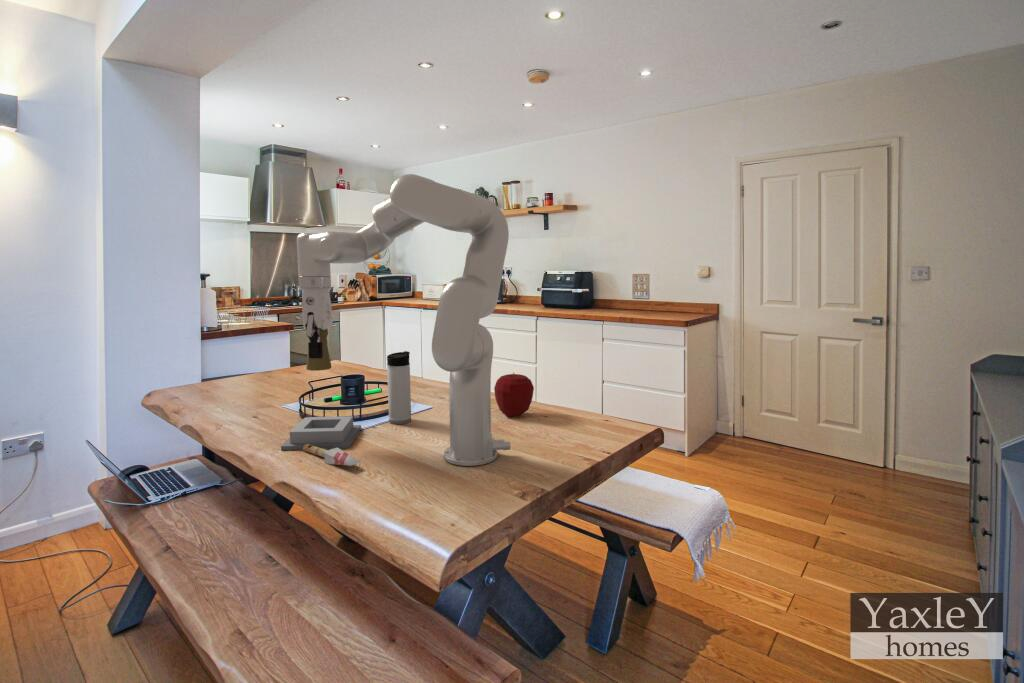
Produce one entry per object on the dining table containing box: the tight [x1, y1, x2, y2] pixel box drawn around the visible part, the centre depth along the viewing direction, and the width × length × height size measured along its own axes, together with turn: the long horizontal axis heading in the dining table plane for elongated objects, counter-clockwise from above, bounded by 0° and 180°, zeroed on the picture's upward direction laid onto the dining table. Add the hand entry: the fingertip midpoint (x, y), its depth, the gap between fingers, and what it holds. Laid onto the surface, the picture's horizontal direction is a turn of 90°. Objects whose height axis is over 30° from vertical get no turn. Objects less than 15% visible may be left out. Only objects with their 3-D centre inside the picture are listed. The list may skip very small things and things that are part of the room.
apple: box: [493, 372, 535, 419], centre depth 158 cm, size 12×12×13 cm
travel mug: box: [386, 350, 412, 425], centre depth 152 cm, size 6×7×20 cm
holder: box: [280, 416, 362, 451], centre depth 138 cm, size 16×16×4 cm
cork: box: [305, 327, 332, 372], centre depth 135 cm, size 6×6×11 cm
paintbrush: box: [303, 444, 361, 467], centre depth 124 cm, size 4×3×20 cm
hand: (318, 355), depth 135 cm, fingers closed on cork, 4 cm apart
